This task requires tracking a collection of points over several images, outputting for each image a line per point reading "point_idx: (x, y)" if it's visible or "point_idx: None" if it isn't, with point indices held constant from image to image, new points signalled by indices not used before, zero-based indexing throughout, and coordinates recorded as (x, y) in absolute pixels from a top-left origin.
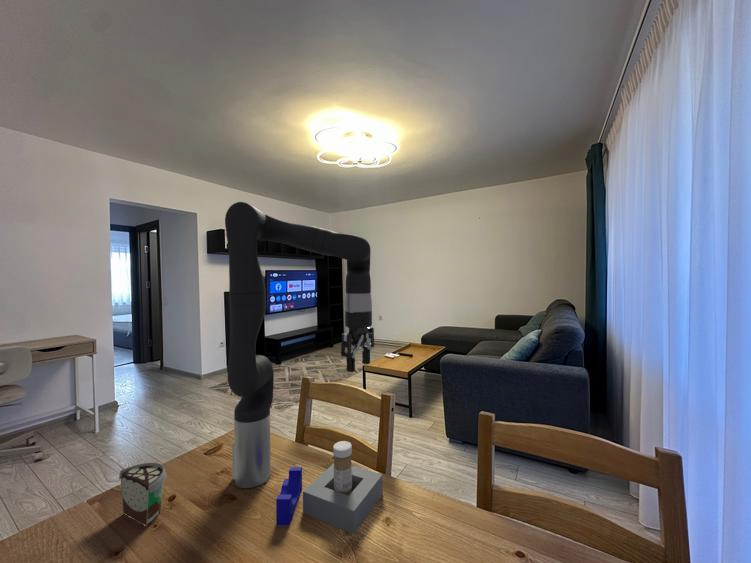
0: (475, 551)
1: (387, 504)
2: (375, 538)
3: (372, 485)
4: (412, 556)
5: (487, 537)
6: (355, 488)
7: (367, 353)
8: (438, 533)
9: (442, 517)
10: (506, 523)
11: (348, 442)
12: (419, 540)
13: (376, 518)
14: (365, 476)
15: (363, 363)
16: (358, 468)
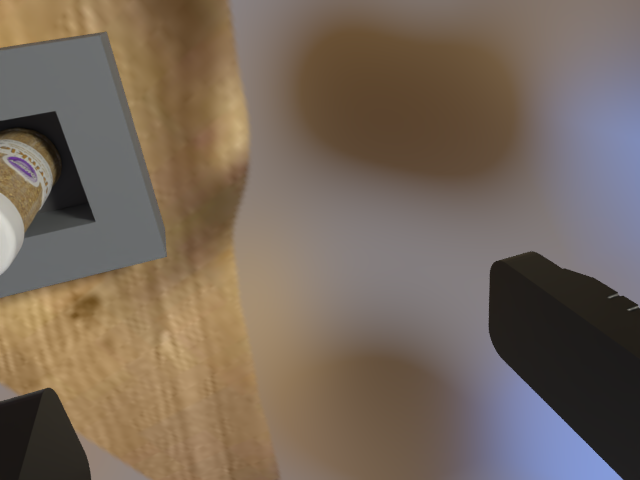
0: (159, 472)
1: (138, 267)
2: (7, 323)
3: (90, 270)
4: None
5: (212, 468)
6: (25, 239)
7: (611, 440)
8: (147, 407)
9: (201, 387)
10: (276, 470)
11: (5, 245)
12: (94, 393)
13: None
14: (109, 219)
15: (493, 270)
16: (129, 162)
